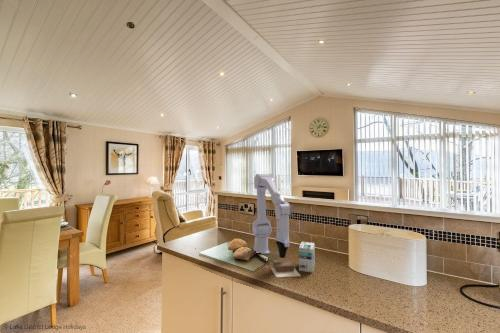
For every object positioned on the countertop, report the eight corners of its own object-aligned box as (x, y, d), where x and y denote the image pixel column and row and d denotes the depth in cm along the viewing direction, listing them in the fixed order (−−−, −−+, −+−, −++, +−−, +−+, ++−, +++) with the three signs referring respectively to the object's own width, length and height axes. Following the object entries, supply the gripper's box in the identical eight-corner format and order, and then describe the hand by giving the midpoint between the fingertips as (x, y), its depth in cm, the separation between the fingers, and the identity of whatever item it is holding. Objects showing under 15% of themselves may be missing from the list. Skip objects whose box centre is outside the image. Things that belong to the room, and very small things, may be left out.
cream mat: (270, 268, 114) (270, 267, 114) (292, 266, 116) (292, 266, 116) (276, 277, 104) (276, 276, 104) (300, 276, 106) (300, 275, 106)
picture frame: (273, 260, 115) (277, 266, 108) (289, 259, 117) (294, 265, 110) (273, 266, 115) (277, 272, 108) (288, 265, 117) (293, 271, 110)
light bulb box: (313, 273, 109) (313, 249, 109) (298, 270, 111) (298, 247, 111) (314, 264, 119) (315, 242, 119) (301, 262, 121) (301, 241, 121)
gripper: (270, 225, 121) (270, 252, 121) (278, 233, 107) (278, 263, 106) (284, 224, 122) (283, 251, 122) (294, 232, 108) (293, 262, 108)
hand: (282, 257), depth 114 cm, fingers closed
